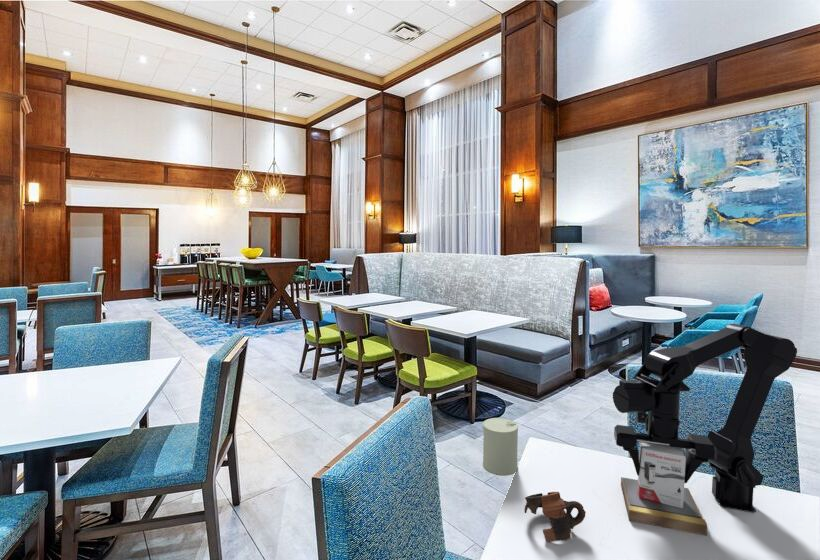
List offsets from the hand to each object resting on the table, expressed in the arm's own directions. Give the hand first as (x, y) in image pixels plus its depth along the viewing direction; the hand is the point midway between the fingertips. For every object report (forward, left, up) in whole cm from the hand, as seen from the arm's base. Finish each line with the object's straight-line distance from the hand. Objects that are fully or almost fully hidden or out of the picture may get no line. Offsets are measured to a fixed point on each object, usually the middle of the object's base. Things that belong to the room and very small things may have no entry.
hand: (660, 478), depth 92 cm
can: (+36, -6, -7) cm, 37 cm away
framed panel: (0, 0, -7) cm, 7 cm away
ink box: (0, 0, -5) cm, 5 cm away
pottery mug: (+22, +14, -7) cm, 27 cm away
